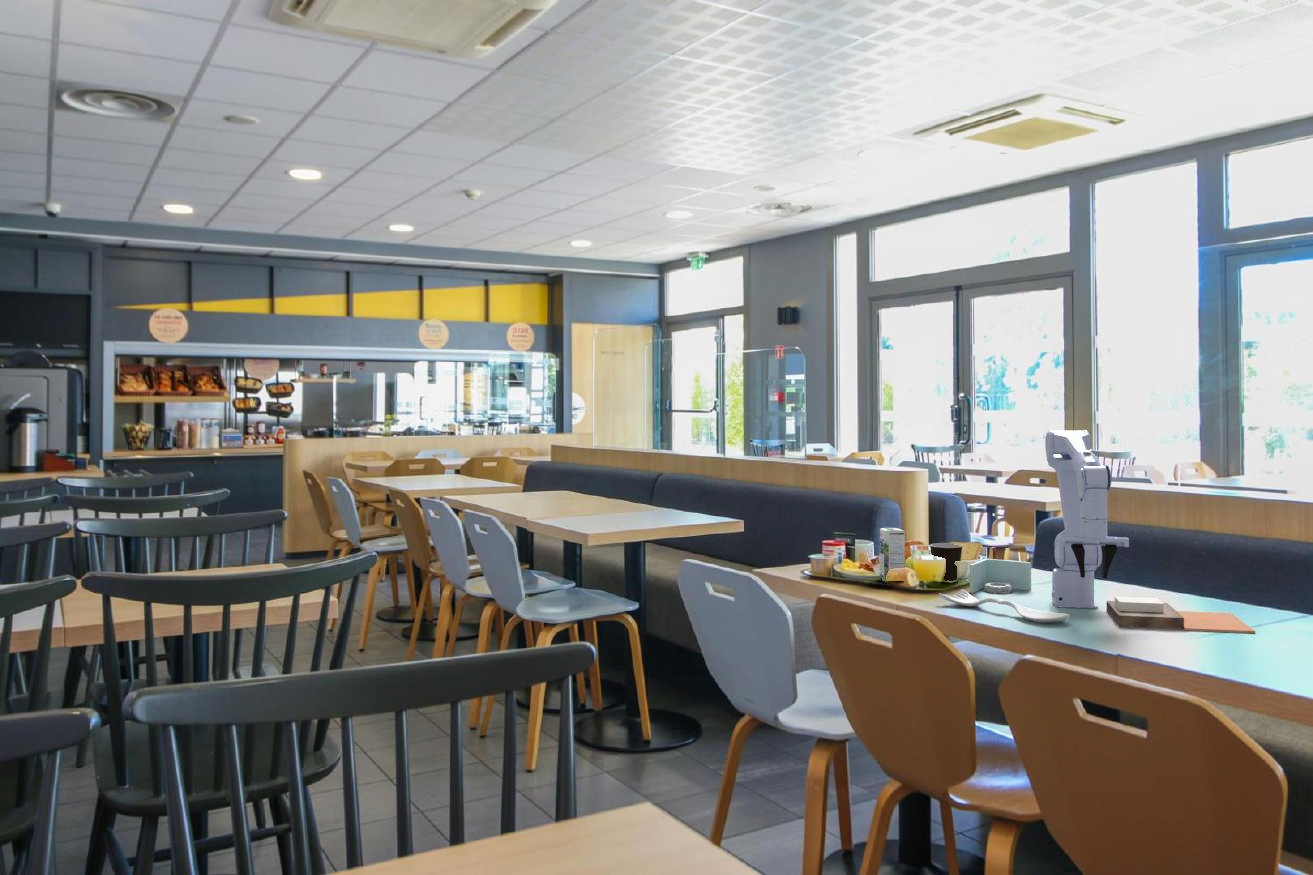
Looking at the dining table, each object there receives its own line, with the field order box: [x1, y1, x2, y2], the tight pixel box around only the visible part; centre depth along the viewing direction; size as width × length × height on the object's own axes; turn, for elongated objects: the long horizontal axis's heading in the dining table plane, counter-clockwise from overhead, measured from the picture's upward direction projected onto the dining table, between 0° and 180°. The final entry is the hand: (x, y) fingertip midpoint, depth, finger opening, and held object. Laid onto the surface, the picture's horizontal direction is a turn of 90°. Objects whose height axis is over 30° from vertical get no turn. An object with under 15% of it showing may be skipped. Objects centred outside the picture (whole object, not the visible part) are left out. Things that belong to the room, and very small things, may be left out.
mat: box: [1176, 610, 1256, 634], centre depth 221 cm, size 14×18×1 cm
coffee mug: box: [929, 542, 963, 581], centre depth 276 cm, size 12×9×10 cm
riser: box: [1106, 600, 1184, 630], centre depth 225 cm, size 13×16×2 cm
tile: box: [1114, 596, 1165, 613], centre depth 225 cm, size 9×6×2 cm, turn 74°
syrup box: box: [878, 527, 906, 583], centre depth 277 cm, size 6×6×14 cm
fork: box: [938, 588, 1071, 624], centre depth 234 cm, size 9×32×4 cm, turn 34°
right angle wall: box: [969, 558, 1032, 594], centre depth 260 cm, size 12×12×8 cm
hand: (1093, 577), depth 227 cm, fingers open, 4 cm apart
